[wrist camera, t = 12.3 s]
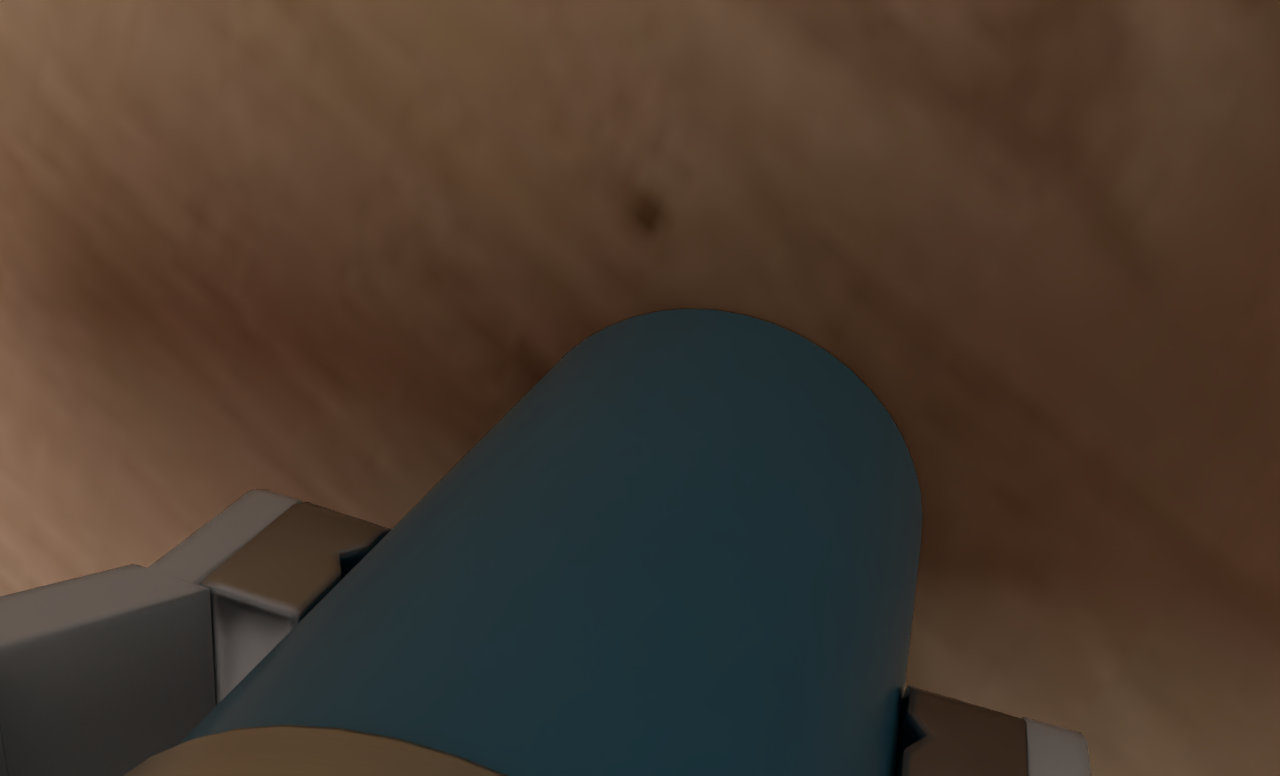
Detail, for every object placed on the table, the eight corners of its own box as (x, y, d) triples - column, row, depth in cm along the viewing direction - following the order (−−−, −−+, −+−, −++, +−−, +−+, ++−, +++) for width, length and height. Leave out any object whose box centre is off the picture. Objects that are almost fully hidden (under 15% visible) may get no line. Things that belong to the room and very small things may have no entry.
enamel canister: (987, 361, 11) (982, 1101, 4) (873, 732, 13) (743, 1620, 6) (528, 253, 12) (-97, 693, 5) (494, 614, 14) (26, 1263, 7)
